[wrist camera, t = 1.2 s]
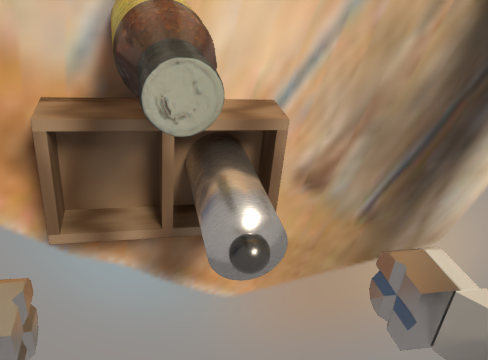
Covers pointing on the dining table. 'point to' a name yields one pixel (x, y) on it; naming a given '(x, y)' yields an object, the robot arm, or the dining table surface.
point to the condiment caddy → (136, 166)
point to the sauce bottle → (167, 64)
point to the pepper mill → (233, 209)
